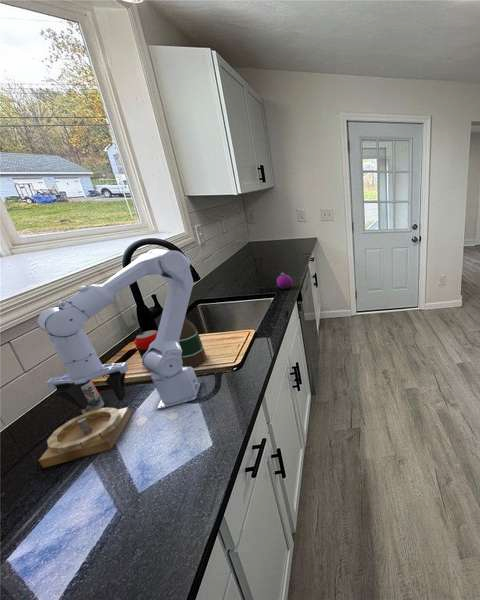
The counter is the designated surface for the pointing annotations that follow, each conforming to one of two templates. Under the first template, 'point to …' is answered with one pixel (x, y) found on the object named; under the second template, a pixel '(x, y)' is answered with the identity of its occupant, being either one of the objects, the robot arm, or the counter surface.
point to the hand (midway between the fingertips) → (104, 402)
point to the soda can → (145, 341)
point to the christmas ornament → (284, 281)
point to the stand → (82, 431)
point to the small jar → (91, 396)
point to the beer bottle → (191, 345)
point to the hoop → (79, 444)
